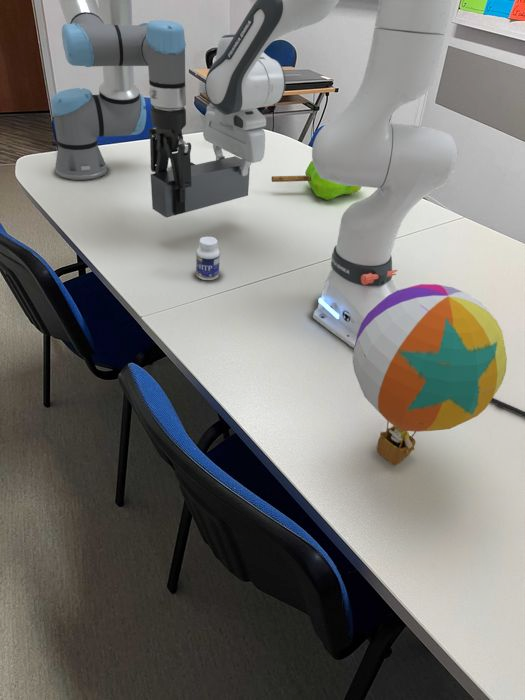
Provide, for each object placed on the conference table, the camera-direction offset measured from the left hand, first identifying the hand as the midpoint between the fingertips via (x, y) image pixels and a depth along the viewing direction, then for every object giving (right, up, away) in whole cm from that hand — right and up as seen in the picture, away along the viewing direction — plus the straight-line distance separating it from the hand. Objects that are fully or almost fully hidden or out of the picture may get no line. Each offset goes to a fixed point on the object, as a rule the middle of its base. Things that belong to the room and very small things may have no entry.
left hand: (171, 208), depth 126 cm
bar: (+7, +3, +5) cm, 9 cm away
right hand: (+14, +12, +6) cm, 19 cm away
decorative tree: (+39, +15, +38) cm, 57 cm away
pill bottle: (+9, -17, -5) cm, 20 cm away
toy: (+43, -51, -44) cm, 80 cm away
